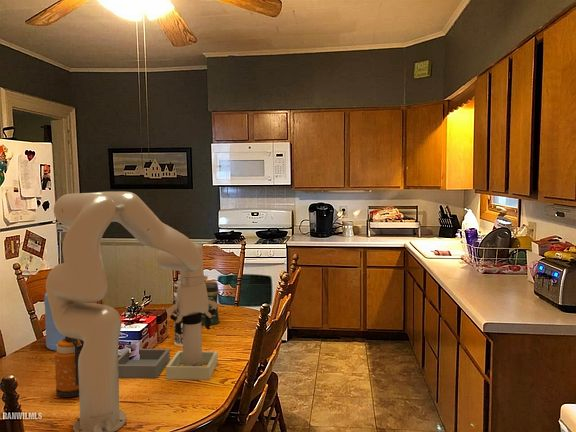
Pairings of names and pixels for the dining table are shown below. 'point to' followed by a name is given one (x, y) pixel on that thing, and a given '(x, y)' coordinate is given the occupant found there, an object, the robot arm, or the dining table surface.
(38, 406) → the dining table surface
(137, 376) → the charcoal tray
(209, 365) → the sage crate
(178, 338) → the decorative candle
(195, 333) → the travel mug
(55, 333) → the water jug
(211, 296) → the coffee jar
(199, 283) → the robot arm
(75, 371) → the canister
